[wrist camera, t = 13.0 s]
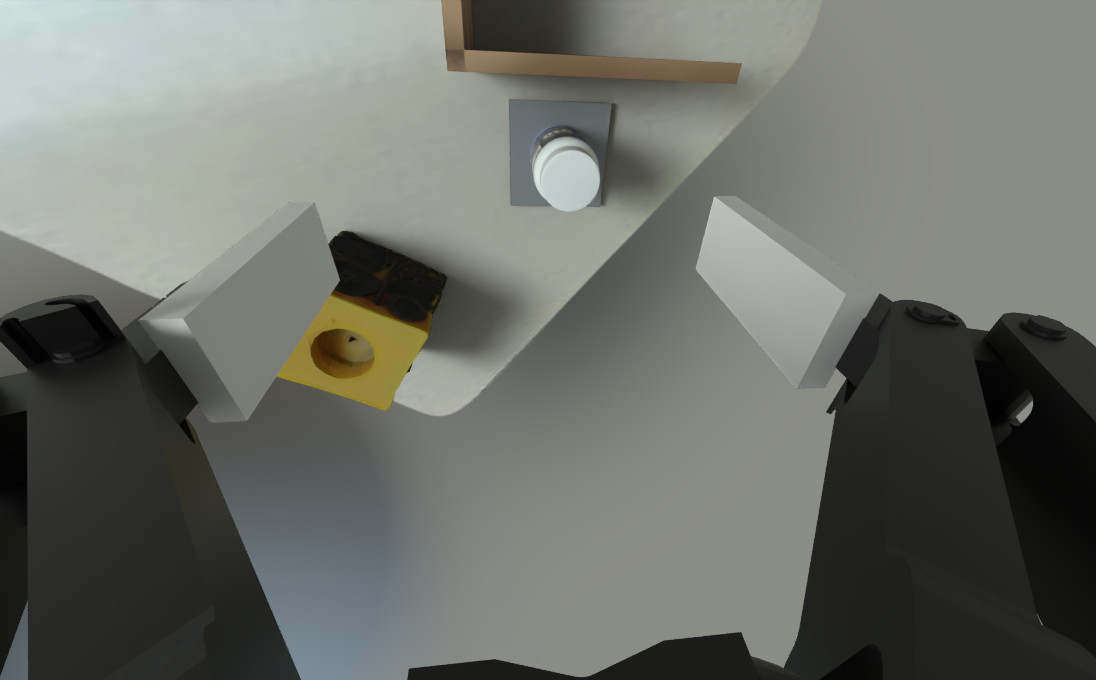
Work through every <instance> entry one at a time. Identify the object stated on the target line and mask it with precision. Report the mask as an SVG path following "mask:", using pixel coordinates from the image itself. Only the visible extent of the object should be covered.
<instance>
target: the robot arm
mask: <svg viewBox="0 0 1096 680" xmlns="http://www.w3.org/2000/svg"><path fill="white" fill-rule="evenodd" d="M696 270H697V272H698V273H699V274H700V275H701V276H702V278H703V279H704V280H705V281H706V282H707V283H708V284H709V286H710V287H711V288H712V289H713V291H714V292H715V293H716V294H717V295H718V296H719V298H720V299H721V300H722V301H723V302H724V304H725V305H726V306H727V307H728V308H729V309H730V311H731V312H732V313H733V314H734V315H735V316H736V318H737V319H738V320H739V321H740V323H741V324H742V325H743V326H744V327H745V329H746V330H747V331H748V332H749V333H750V334H751V336H752V337H753V338H754V339H755V340H756V341H757V342H758V344H759V345H760V346H761V347H762V349H763V350H764V351H765V352H766V353H767V355H768V356H769V357H770V358H771V359H772V360H773V362H774V363H775V364H776V365H777V366H778V368H779V369H780V370H781V371H782V372H783V374H784V375H785V376H786V377H787V378H788V379H789V381H790V382H791V383H792V384H793V385H794V387H795V388H796V389H805V388H822V387H826V385H827V383H828V381H829V380H830V378H831V376H832V374H833V372H834V371H835V369H836V368H837V369H838V370H839V371H840V372H841V373H842V374H843V375H844V376H845V377H846V378H847V379H846V380H845V382H844V384H843V385H842V387H841V388H840V390H839V392H838V394H837V395H836V397H835V398H834V400H833V402H832V403H831V405H830V407H829V408H828V410H827V413H829V414H831V413H832V412H833V411H834V410H836V413H835V419H834V425H833V431H832V437H831V443H830V448H829V455H828V461H827V466H826V473H825V478H824V484H823V491H822V496H821V502H820V509H819V515H818V521H817V526H816V532H815V539H814V544H813V551H812V556H811V562H810V568H809V574H808V581H807V586H806V593H805V598H804V605H803V610H802V616H801V622H800V628H799V632H798V636H797V639H796V642H795V645H794V647H793V649H792V651H791V653H790V655H789V657H788V659H787V661H786V664H785V666H784V668H782V667H780V666H778V665H775V664H773V663H770V662H767V661H764V660H761V659H759V658H755V657H752V656H750V653H749V651H748V648H747V646H746V643H745V641H744V638H743V636H742V633H741V632H740V633H739V632H738V633H729V634H720V635H711V636H702V637H693V638H684V639H674V640H666V641H662V642H660V643H658V644H656V645H654V646H652V647H650V648H648V649H646V650H643V651H641V652H639V653H637V654H635V655H633V656H631V657H629V658H627V659H625V660H623V661H621V662H619V663H616V664H614V665H612V666H610V667H608V668H606V669H604V670H602V671H600V672H598V673H596V674H593V675H591V676H588V677H574V676H570V675H565V674H560V673H555V672H551V671H546V670H541V669H537V668H533V667H528V666H523V665H519V664H514V663H509V662H505V661H500V660H496V659H493V660H483V661H474V662H465V663H456V664H447V665H438V666H430V667H420V668H412V669H409V672H408V679H407V680H1096V347H1095V346H1094V345H1093V344H1092V343H1091V342H1089V341H1088V340H1087V339H1086V338H1085V337H1083V336H1082V335H1080V334H1079V333H1078V332H1076V331H1074V330H1073V329H1071V328H1068V327H1066V326H1065V325H1064V324H1062V323H1061V322H1059V321H1057V320H1054V319H1050V318H1048V317H1044V316H1040V315H1038V316H1034V315H1029V314H1023V313H1007V314H1003V315H1002V316H1001V318H1000V319H999V320H998V321H997V322H996V324H995V325H994V326H993V327H992V329H991V330H990V331H984V330H976V329H969V328H966V325H965V323H964V322H963V321H962V319H961V318H959V317H958V316H957V315H955V314H953V313H952V312H949V311H947V310H945V309H943V308H941V307H939V306H937V305H934V304H930V303H925V302H920V301H914V300H899V301H895V302H892V301H890V300H889V299H888V298H886V297H885V296H883V295H882V294H880V293H879V292H878V291H876V290H874V289H873V288H872V287H870V286H869V285H867V284H866V283H864V282H863V281H861V280H860V279H858V278H857V277H855V276H854V275H852V274H851V273H849V272H848V271H846V270H845V269H843V268H842V267H840V266H839V265H837V264H836V263H834V262H833V261H831V260H830V259H828V258H827V257H825V256H824V255H822V254H821V253H820V252H818V251H817V250H815V249H814V248H812V247H810V246H809V245H808V244H806V243H804V242H803V241H802V240H800V239H799V238H797V237H796V236H794V235H793V234H791V233H790V232H788V231H787V230H785V229H784V228H782V227H781V226H779V225H778V224H776V223H775V222H773V221H772V220H770V219H769V218H767V217H766V216H764V215H763V214H761V213H760V212H758V211H757V210H755V209H754V208H753V207H751V206H749V205H748V204H747V203H745V202H744V201H742V200H741V199H739V198H738V197H736V196H714V199H713V203H712V207H711V211H710V215H709V219H708V223H707V227H706V230H705V234H704V238H703V242H702V246H701V250H700V254H699V258H698V262H697V265H696ZM339 281H340V279H339V276H338V273H337V269H336V266H335V263H334V260H333V257H332V254H331V251H330V248H329V245H328V242H327V239H326V236H325V233H324V230H323V227H322V224H321V221H320V217H319V214H318V211H317V208H316V205H315V202H298V203H288V204H287V205H285V206H284V207H283V208H282V209H280V210H279V211H278V212H276V213H275V214H274V215H273V216H271V217H270V218H269V219H267V220H266V221H265V222H264V223H262V224H261V225H260V226H258V227H257V228H256V229H255V230H253V231H252V232H251V233H249V234H248V235H247V236H246V237H244V238H243V239H242V240H240V241H239V242H238V243H237V244H235V245H234V246H233V247H232V248H230V249H229V250H228V251H226V252H225V253H224V254H223V255H221V256H220V257H219V258H217V259H216V260H215V261H214V262H212V263H211V264H210V265H208V266H207V267H206V268H205V269H203V270H202V271H201V272H199V273H198V274H197V275H196V276H194V277H193V278H192V279H190V280H189V281H187V282H185V283H183V284H181V285H179V286H178V287H177V288H175V289H174V290H173V291H172V292H170V293H169V294H168V295H166V298H162V299H161V300H160V301H159V302H157V303H156V304H155V305H154V307H151V308H149V309H148V310H147V311H146V312H144V313H143V314H142V315H140V316H139V317H138V318H137V319H135V320H134V321H133V322H131V323H130V324H129V325H128V326H126V327H125V328H124V329H123V330H120V329H119V327H118V326H117V325H116V323H115V322H114V321H113V319H112V318H111V317H110V316H109V314H108V313H107V311H106V310H105V309H104V308H103V306H102V305H101V304H100V302H99V301H98V300H97V299H96V298H95V297H93V296H88V295H69V296H62V297H57V298H52V299H47V300H43V301H40V302H37V303H33V304H30V305H27V306H24V307H22V308H19V309H17V310H15V311H12V312H10V313H8V314H6V315H5V316H3V317H1V318H0V342H2V343H3V344H4V346H5V347H6V348H7V349H8V350H9V351H10V352H11V353H13V355H15V357H16V358H17V359H18V360H19V361H21V363H22V364H23V365H24V366H25V367H26V368H27V372H25V373H20V374H15V375H10V376H5V377H0V675H1V672H2V670H3V667H4V664H5V661H6V659H7V656H8V653H9V650H10V647H11V645H12V642H13V639H14V636H15V633H16V631H17V628H18V625H19V622H20V620H21V617H22V614H23V611H24V609H25V606H26V603H27V600H28V680H301V679H300V676H299V674H298V672H297V669H296V667H295V665H294V663H293V660H292V658H291V655H290V653H289V651H288V648H287V646H286V643H285V641H284V639H283V636H282V634H281V632H280V629H279V627H278V625H277V622H276V620H275V617H274V615H273V613H272V610H271V608H270V606H269V603H268V601H267V598H266V596H265V594H264V592H263V589H262V587H261V584H260V582H259V580H258V577H257V575H256V573H255V571H254V568H253V565H252V563H251V561H250V558H249V556H248V554H247V551H246V549H245V547H244V544H243V542H242V540H241V537H240V535H239V532H238V530H237V528H236V525H235V523H234V521H233V518H232V516H231V513H230V511H229V509H228V507H227V504H226V502H225V499H224V497H223V495H222V492H221V490H220V487H219V485H218V483H217V480H216V478H215V476H214V473H213V471H212V468H211V466H210V464H209V461H208V459H207V457H206V454H205V452H204V450H203V447H202V445H201V443H200V440H199V438H198V435H197V433H196V431H195V428H194V427H193V426H192V424H191V423H190V422H189V421H188V419H187V418H186V416H187V415H188V414H189V413H190V412H191V411H192V409H193V408H194V407H195V406H196V405H197V404H198V406H199V407H200V408H201V409H202V411H203V413H204V414H205V415H206V417H207V418H208V420H209V421H210V422H211V423H215V422H231V421H247V420H248V418H249V417H250V415H251V414H252V412H253V411H254V409H255V408H256V406H257V405H258V403H259V401H260V400H261V399H262V397H263V396H264V394H265V392H266V391H267V390H268V388H269V387H270V385H271V383H272V382H273V380H274V379H275V377H276V376H277V374H278V373H279V371H280V370H281V368H282V367H283V365H284V364H285V362H286V361H287V359H288V358H289V356H290V355H291V353H292V352H293V350H294V349H295V347H296V346H297V344H298V343H299V341H300V340H301V338H302V337H303V335H304V334H305V332H306V331H307V329H308V328H309V326H310V325H311V323H312V322H313V320H314V319H315V317H316V316H317V314H318V313H319V311H320V310H321V308H322V307H323V305H324V303H325V302H326V300H327V299H328V297H329V296H330V294H331V293H332V291H333V290H334V288H335V287H336V285H337V284H338V282H339ZM1032 400H1033V408H1032V411H1031V413H1030V414H1029V416H1028V417H1027V418H1026V419H1025V421H1023V422H1022V423H1020V422H1019V421H1018V419H1017V418H1016V416H1017V415H1018V414H1019V413H1020V412H1021V411H1022V410H1023V409H1024V408H1025V407H1026V406H1027V405H1028V404H1029V403H1030V402H1031V401H1032ZM1037 614H1038V616H1039V618H1040V620H1041V622H1042V624H1043V625H1041V623H1040V620H1039V618H1038V616H1037Z"/></svg>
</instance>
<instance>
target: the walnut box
mask: <svg viewBox="0 0 1096 680" xmlns="http://www.w3.org/2000/svg"><path fill="white" fill-rule="evenodd" d="M441 2H442V13H443V25H444V37H445V48H446V60H447V71H459V72H482V73H505V74H528V75H551V76H574V77H596V78H619V79H642V80H665V81H688V82H711V83H734V84H736V83H737V79H738V76H739V72H740V68H741V64H742V63H724V62H704V61H685V60H664V59H644V58H623V57H603V56H582V55H561V54H541V53H520V52H500V51H479V50H474V41H473V22H472V3H471V0H441Z"/></svg>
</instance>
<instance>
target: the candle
mask: <svg viewBox="0 0 1096 680" xmlns="http://www.w3.org/2000/svg"><path fill="white" fill-rule="evenodd" d="M328 245H329V248H330V251H331V254H332V257H333V260H334V263H335V266H336V269H337V273H338V276H339V279H340V281H339V282H338V284H337V285H336V287H335V288H334V290H333V291H332V293H331V294H330V296H329V297H328V299H327V300H326V302H325V303H324V305H323V307H322V308H321V310H320V311H319V313H318V314H317V316H316V317H315V319H314V320H313V322H312V323H311V325H310V326H309V328H308V329H307V331H306V332H305V334H304V335H303V337H302V338H301V340H300V341H299V343H298V344H297V346H296V347H295V349H294V350H293V352H292V353H291V355H290V356H289V358H288V359H287V361H286V362H285V364H284V365H283V367H282V368H281V370H280V371H279V373H278V374H277V377H280V378H283V379H287V380H290V381H294V382H298V383H301V384H305V385H309V386H311V387H315V388H318V389H321V390H324V391H327V392H331V393H334V394H337V395H340V396H343V397H346V398H350V399H353V400H356V401H358V402H361V403H364V404H367V405H370V406H373V407H376V408H378V409H381V410H387V409H389V408H390V407H391V404H392V402H393V398H394V395H395V392H396V390H397V389H398V387H399V386H400V384H401V382H402V380H403V378H404V376H405V374H406V373H408V372H410V369H411V366H412V363H413V361H414V359H415V358H416V357H417V355H418V354H419V352H420V350H421V349H422V347H423V345H424V343H425V342H426V340H427V338H428V336H429V333H430V330H431V319H432V315H433V313H434V311H435V309H436V308H437V306H438V303H439V302H440V298H441V295H442V290H443V288H444V286H445V283H446V279H447V277H446V276H445V275H444V274H438V273H437V272H436V271H434V270H433V269H429V268H427V267H425V266H424V265H423V264H421V263H418V262H415V261H413V260H411V259H409V258H407V257H405V256H403V255H400V254H397V253H394V252H392V251H391V250H389V249H385V248H384V247H382V246H378V245H376V244H373V243H371V242H368V241H365V240H363V239H361V238H359V237H358V236H356V235H355V234H353V233H352V232H346V231H341V232H340V233H339V234H338V236H335V237H334V238H333V239H332V240H331V241H330V243H329V244H328Z"/></svg>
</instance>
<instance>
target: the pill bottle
mask: <svg viewBox="0 0 1096 680" xmlns="http://www.w3.org/2000/svg"><path fill="white" fill-rule="evenodd" d="M530 162H531V167H532V172H533V178H534V183H535V185H536V188H537V190H538V191H539V193H540V194H541V196H542V197H543V198H544V199H545V200H547V201H548V202H549V204H551V205H552V206H553V207H555V208H556V209H558V210H561V211H566V212H572V211H577V210H580V209H582V208H584V207H586V206H587V205H588V204H589V203H591V202H592V200H593V199H594V198H595V196H596V194H597V192H598V189H599V186H600V173H599V163H598V159H597V156H596V154H595V153H594V151H593V149H592V148H591V147H590V146H589V145H588V143H587V142H586V141H585V140H584V139H583V137H581V135H580V134H579V133H578V132H577V131H575V130H574V129H572V128H570V127H568V126H564V125H553V126H550V127H548V128H546V129H544V130H543V131H542V132H540V133H539V134H538V135H537V137H536V138H535V140H534V142H533V144H532V147H531V151H530Z"/></svg>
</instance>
